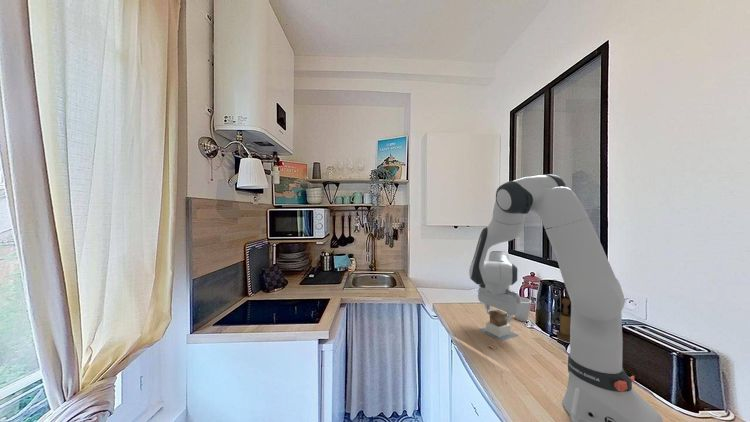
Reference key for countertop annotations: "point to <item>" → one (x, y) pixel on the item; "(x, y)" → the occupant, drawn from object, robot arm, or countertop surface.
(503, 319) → the walnut brick
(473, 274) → the robot arm
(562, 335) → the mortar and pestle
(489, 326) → the base brick
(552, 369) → the countertop surface
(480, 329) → the build plate
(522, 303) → the dixie cup
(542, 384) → the countertop surface
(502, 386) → the countertop surface
